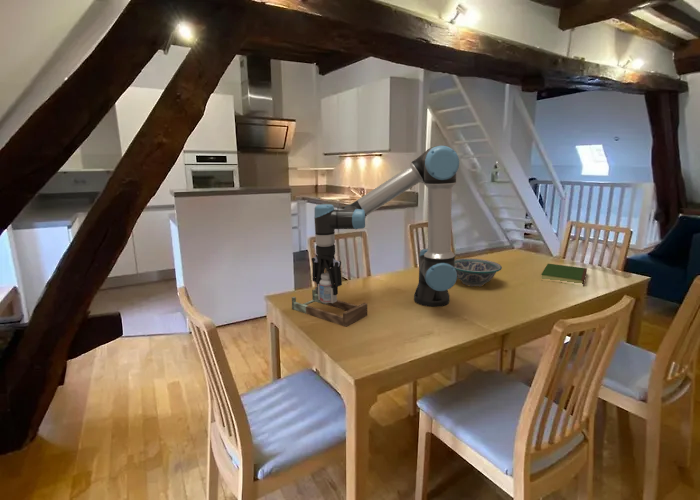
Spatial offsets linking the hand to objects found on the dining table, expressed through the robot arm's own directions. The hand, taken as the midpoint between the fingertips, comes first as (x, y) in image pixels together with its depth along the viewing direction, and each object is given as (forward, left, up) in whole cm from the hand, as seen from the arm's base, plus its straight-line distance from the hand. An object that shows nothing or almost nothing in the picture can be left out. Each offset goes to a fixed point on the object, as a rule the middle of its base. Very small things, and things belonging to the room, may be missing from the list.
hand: (327, 300), depth 160 cm
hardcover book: (-66, -111, -6) cm, 129 cm away
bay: (0, -2, -5) cm, 5 cm away
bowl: (-33, -72, -5) cm, 79 cm away
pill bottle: (0, 0, -1) cm, 1 cm away
